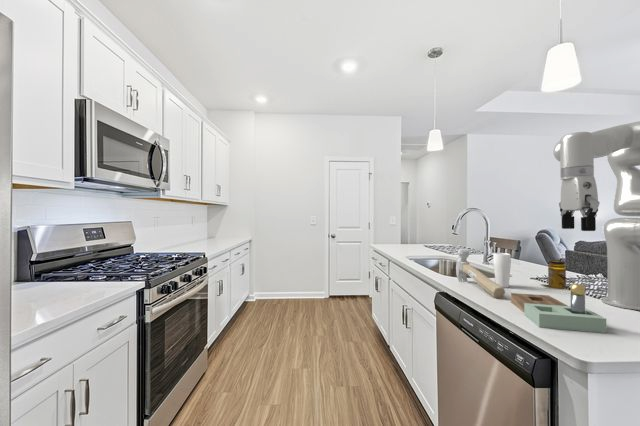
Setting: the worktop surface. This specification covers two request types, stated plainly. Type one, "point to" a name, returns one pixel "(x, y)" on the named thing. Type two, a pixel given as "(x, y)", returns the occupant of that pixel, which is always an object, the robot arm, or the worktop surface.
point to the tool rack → (564, 318)
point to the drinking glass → (502, 268)
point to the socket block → (533, 300)
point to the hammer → (476, 275)
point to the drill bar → (577, 298)
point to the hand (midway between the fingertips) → (577, 229)
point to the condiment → (556, 275)
